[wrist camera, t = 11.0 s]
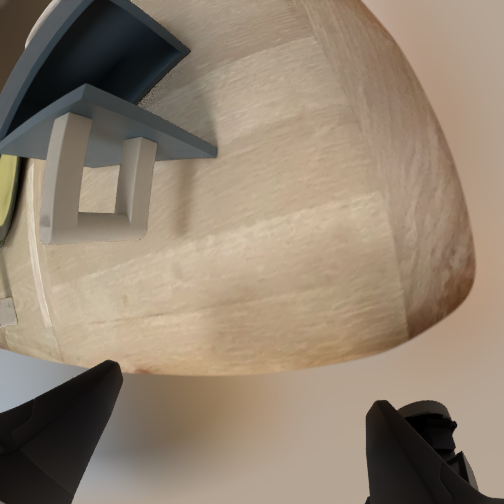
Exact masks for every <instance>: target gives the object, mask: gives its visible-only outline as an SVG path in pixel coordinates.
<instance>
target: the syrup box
mask: <svg viewBox="0 0 504 504" xmlns="http://www.w3.org/2000/svg"><path fill="white" fill-rule="evenodd" d="M17 323H18V322H17V316H16V312H15V307H14V303H13V299H12V297H7V298H2V299H0V328H3V327H6V326H10V325H13V324H17Z"/></svg>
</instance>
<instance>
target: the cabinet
mask: <svg viewBox="0 0 504 504" xmlns="http://www.w3.org/2000/svg"><path fill="white" fill-rule="evenodd" d="M189 52H191V51H190V50H189V49H188V48H187V47H186V46H185V45H184V44H183V43H181V42H180V41H179V40H178V39H177V38H176V37H174V36H173V35H172V34H171V33H170V32H169V31H167V30H166V29H165V28H164V27H163V26H161V25H160V24H159V23H158V22H156V21H155V20H154V19H153V18H151V17H150V16H149V15H148V14H146V13H145V12H144V11H142V10H141V9H140V8H138V7H137V6H136V5H134V4H133V3H132V2H130V1H129V0H61V1H60V2H59V4H58V5H57V6H56V7H55V8H54V10H53V11H52V12H51V13H50V15H49V16H48V17H47V19H46V20H45V21H44V23H43V24H42V25H41V27H40V28H39V29H38V31H37V32H36V34H35V35H34V37H33V38H32V39H31V41H30V42H29V44H28V46H27V47H26V49H25V50H24V52H23V54H22V55H21V57H20V59H19V60H18V62H17V64H16V65H15V67H14V69H13V71H12V73H11V74H10V76H9V78H8V80H7V82H6V84H5V86H4V88H3V90H2V92H1V95H0V142H1V141H2V140H3V139H4V138H6V137H7V136H8V135H9V134H10V133H12V132H13V131H14V130H15V129H17V128H18V127H19V126H21V125H22V124H23V123H24V122H26V121H27V120H28V119H30V118H31V117H33V116H34V115H35V114H37V113H38V112H40V111H41V110H43V109H44V108H46V107H47V106H49V105H50V104H52V103H53V102H55V101H56V100H58V99H60V98H61V97H63V96H65V95H66V94H68V93H70V92H71V91H73V90H75V89H77V88H78V87H80V86H82V85H84V84H89V85H91V86H94V87H96V88H98V89H101V90H103V91H105V92H108V93H110V94H112V95H114V96H117V97H119V98H121V99H123V100H125V101H128V102H130V103H132V104H134V105H137V104H138V103H139V102H140V101H141V99H142V98H143V97H144V96H145V95H146V94H147V93H148V92H149V91H150V90H151V89H152V88H153V87H154V86H155V85H156V84H157V83H158V82H159V81H160V80H161V79H162V78H163V77H164V76H165V75H166V74H167V73H168V72H169V71H170V70H171V69H172V68H173V67H174V66H175V65H176V64H177V63H178V62H179V61H180V60H182V59H183V58H184V57H185V56H186V55H187V54H188V53H189Z"/></svg>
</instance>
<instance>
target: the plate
mask: <svg viewBox="0 0 504 504" xmlns="http://www.w3.org/2000/svg"><path fill="white" fill-rule="evenodd" d="M21 160H22V157H20V156H12V155H3V154H0V248H2V246H3V245H4V242H5V239H6V236H7V233H8V230H9V227H10V223H11V220H12V215H13V211H14V206H15V200H16V195H17V189H18V183H19V176H20V168H21Z"/></svg>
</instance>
